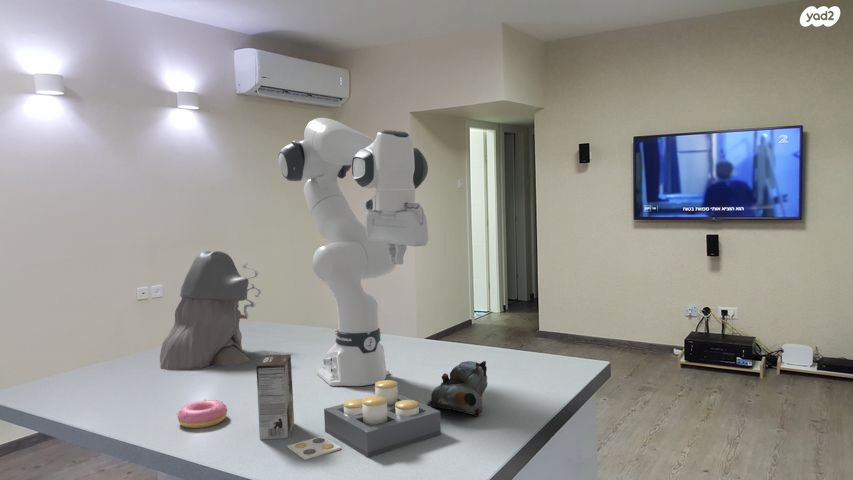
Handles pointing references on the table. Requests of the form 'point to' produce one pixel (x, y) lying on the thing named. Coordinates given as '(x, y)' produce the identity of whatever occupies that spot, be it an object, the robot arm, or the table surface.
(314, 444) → the card
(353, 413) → the button
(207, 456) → the table surface
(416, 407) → the button
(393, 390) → the button
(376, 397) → the button
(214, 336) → the bust
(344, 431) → the board
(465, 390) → the lucky cat figurine
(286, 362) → the coffee box
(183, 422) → the doughnut
